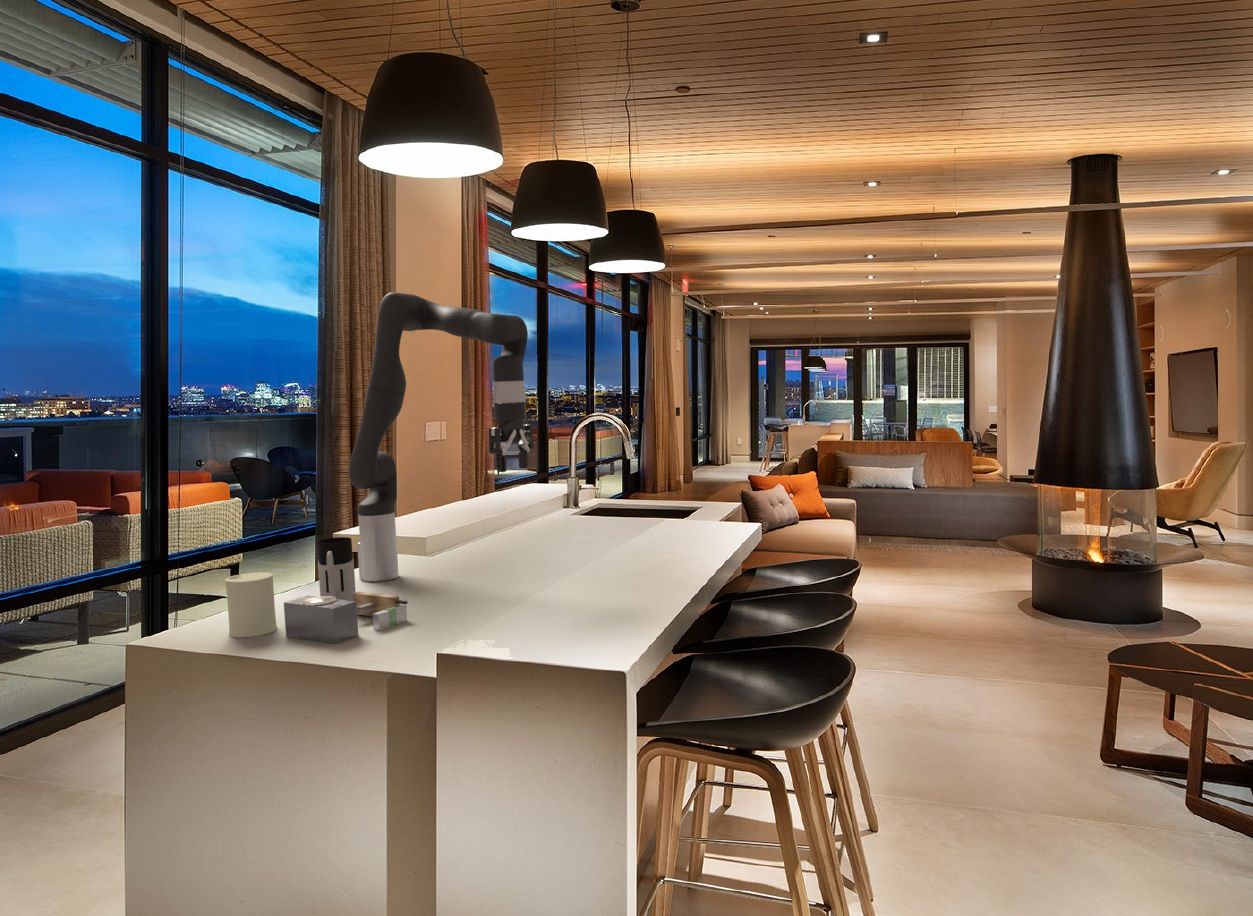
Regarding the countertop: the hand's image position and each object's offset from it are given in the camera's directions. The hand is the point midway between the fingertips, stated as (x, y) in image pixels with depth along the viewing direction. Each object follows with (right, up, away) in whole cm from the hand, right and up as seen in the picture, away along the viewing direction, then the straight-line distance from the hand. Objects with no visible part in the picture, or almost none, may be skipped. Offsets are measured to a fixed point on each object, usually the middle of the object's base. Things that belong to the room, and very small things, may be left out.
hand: (513, 469), depth 202 cm
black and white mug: (-40, -32, -5) cm, 51 cm away
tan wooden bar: (-27, -31, -18) cm, 45 cm away
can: (-51, -33, -23) cm, 65 cm away
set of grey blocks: (-31, -32, -24) cm, 51 cm away
